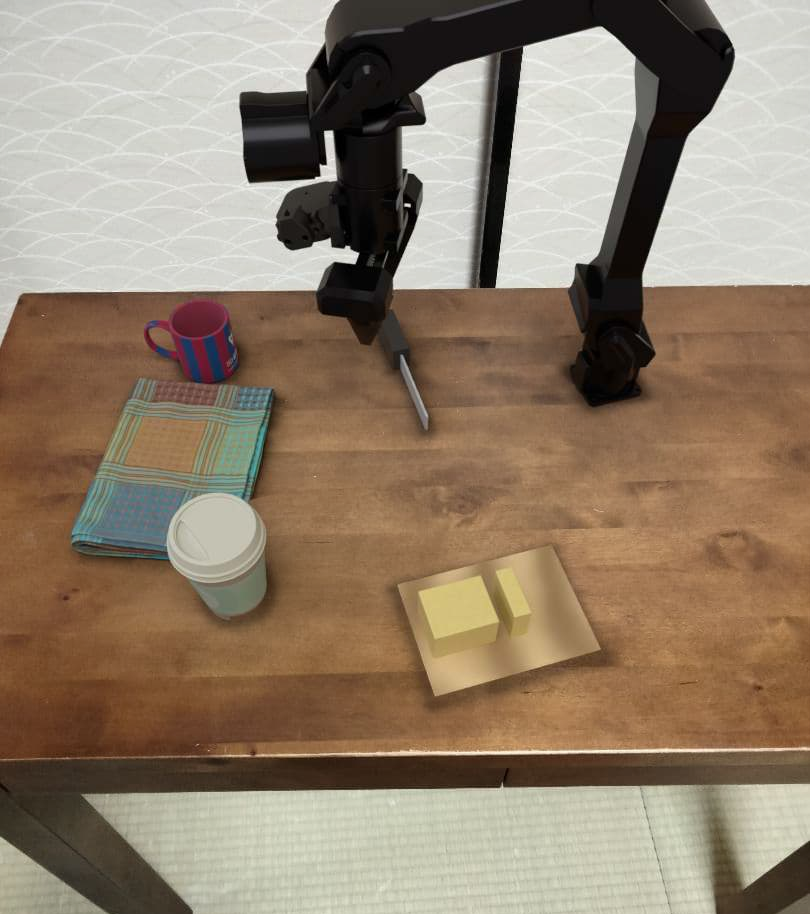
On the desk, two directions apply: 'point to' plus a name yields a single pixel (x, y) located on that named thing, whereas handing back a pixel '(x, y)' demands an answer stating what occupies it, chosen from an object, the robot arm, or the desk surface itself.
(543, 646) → the board
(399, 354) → the knife
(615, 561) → the desk surface
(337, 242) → the robot arm
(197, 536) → the coffee cup
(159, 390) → the dish towel
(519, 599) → the butter slice
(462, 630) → the butter block
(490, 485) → the desk surface
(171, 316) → the cup
